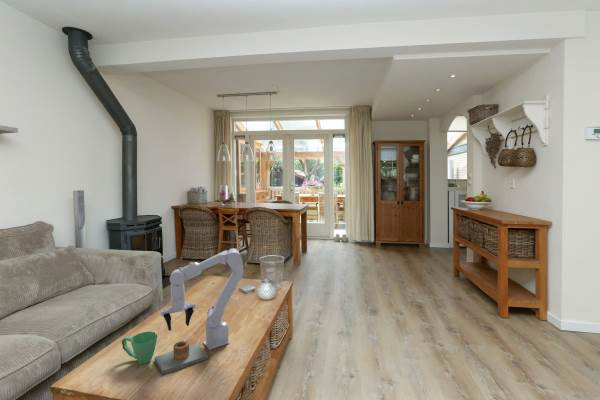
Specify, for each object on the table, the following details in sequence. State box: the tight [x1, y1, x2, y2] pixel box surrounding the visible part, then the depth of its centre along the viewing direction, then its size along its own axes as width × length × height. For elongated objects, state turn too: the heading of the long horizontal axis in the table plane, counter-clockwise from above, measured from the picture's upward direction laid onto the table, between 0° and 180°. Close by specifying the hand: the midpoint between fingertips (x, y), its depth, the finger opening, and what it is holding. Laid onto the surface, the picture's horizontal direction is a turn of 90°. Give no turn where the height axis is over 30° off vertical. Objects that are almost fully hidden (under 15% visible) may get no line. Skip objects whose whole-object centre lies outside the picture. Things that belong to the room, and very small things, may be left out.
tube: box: [173, 340, 190, 360], centre depth 134 cm, size 6×6×5 cm
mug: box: [121, 331, 158, 365], centre depth 133 cm, size 15×10×10 cm
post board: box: [154, 343, 209, 375], centre depth 134 cm, size 18×12×5 cm, turn 127°
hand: (178, 327), depth 142 cm, fingers open, 7 cm apart
